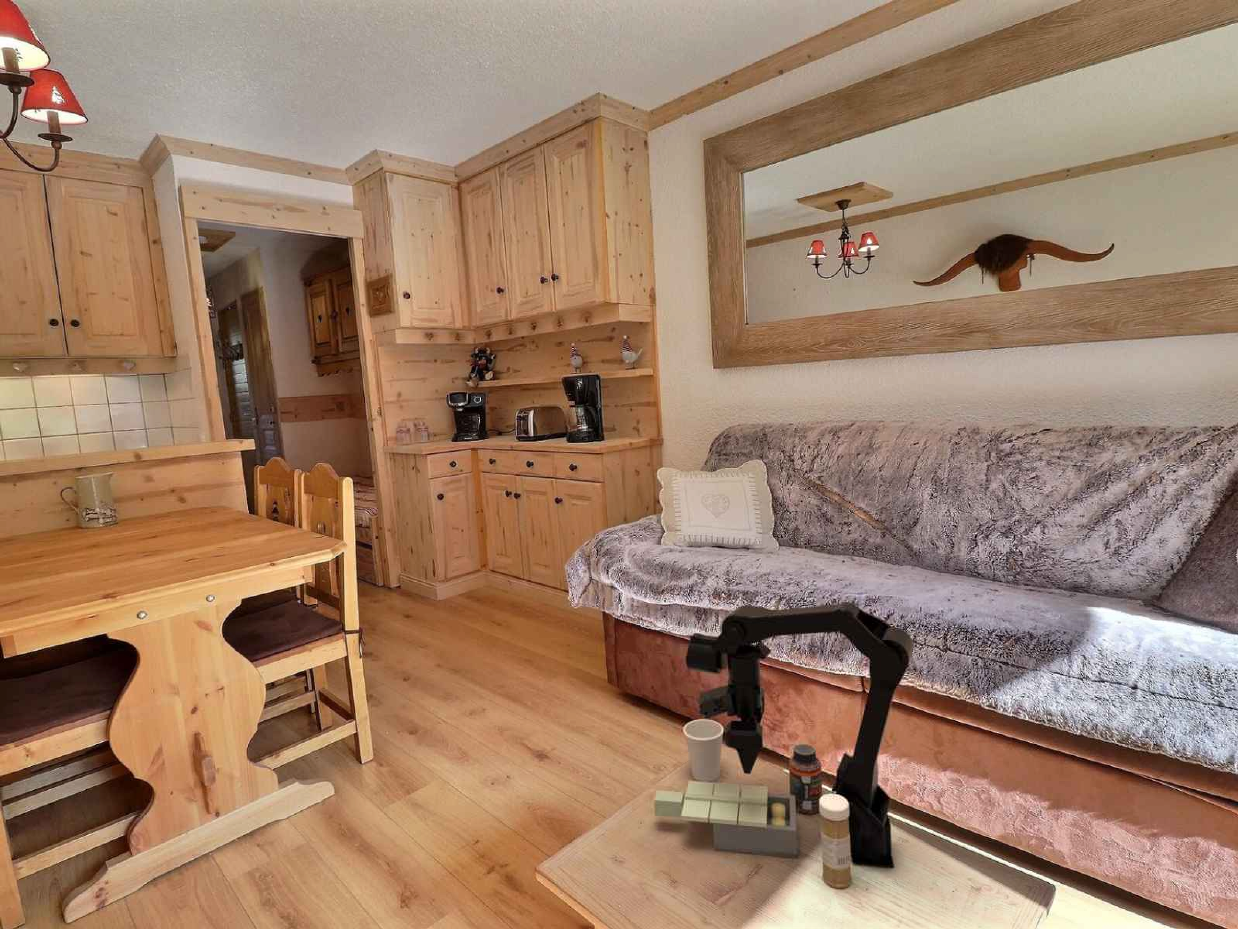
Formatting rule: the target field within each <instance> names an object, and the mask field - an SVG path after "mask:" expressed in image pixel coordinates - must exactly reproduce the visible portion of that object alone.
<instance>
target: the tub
mask: <svg viewBox="0 0 1238 929" xmlns="http://www.w3.org/2000/svg"><path fill="white" fill-rule="evenodd" d="M740 797H741V790H740ZM739 809H740V804H739ZM738 819H739V811H738ZM712 828H713V830H712V831H713V844H714V845H713V846H714V848H713V849H714V851H718V852H719V851H720V852H729V853H739V854H748V855H758V856H766V857H767V856H768V857H778V858H779V857H780V858H789V859H798V856H799V855H798V833H797V832H798V831H797V830H798V829H797V810H796V804H795V795H790V794H783V793H768V800H767V828H765V827H754V826H743V825H739V824H738V821H737V825H732V824H721V823H712Z"/></svg>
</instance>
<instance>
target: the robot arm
mask: <svg viewBox="0 0 1238 929" xmlns="http://www.w3.org/2000/svg"><path fill="white" fill-rule="evenodd" d="M836 632H839V633H840V634H842V635H843V636H844V637H846V638H847V639H848V641H849V642H850V643H851V644H852V645H853V647H854V648H856V649H857V651H859V652H860V653H861V654H862V656H865V658H867V659H868V660H869V667H868V668H869V672H868V673H869V674H868V675H869V684H870V685H869V691H868V695H867V698H866V702H865V706H864V709H863V714H862V718H861V722H860V726H859V730H858V734H857V738H856V742H855V746H854V749H853V754H852V756H851V755H849V754H847V753H845V752H844V753H843V755H842V758H841V760H840V762H839V764H838V767H837V769H836V776H835V781H834V783H833V786H832V789H831V792H832V793H834V794H837V795H840V796H842V797H844V798H845V799H846V800H847V801H848V803H849V818H848V820H849V833H850V855H851V864H854V865H860V866H868V867H878V868H879V867H880V868H890V869H893V868H894V867H895V864H894V859H893V855H892V854H893V853H892V827H891V821H890V818H889V815H888V814H889V810H890V807H891V804H892V798H891V797H890V795H888V793H887V792H886V791H885V790H884V789H883V788H882V787H881V786H880V785H879V784H878V783H879V782H878V781H879V780H878V779H879V765H878V757H879V753H880V749H881V745H882V741H883V738H884V734H885V730H886V726H887V724H888V723H887V722H888V718H889V714H890V712H891V711H890V710H891V708H892V704H893V699H894V696H895V692H896V690H897V689H898V686H900V683H901V681H902V680H903V677H904V675H905V673H906V671H907V670H908V667H909V665H910V662H911V658H912V656H913V652H914V649H915V642H914V640H913V639H912V637H911V636H910V634H909V633H908V632H907V631H906V630H904V629H901V628H899V627H893V626H892V625H890V624H889V623H887V622H886V621H885V620H883V619H882V618H880V617H878V616H875V615H873V614H871V613H869V612H867V611H864V610H862V609H861V608H860V607H858V606H857V605H856V604H853V603H852V602H841V603H839V604H828V605H817V606H806V607H796V608H794V607H793V608H786V609H785V608H784V609H770V608H767V607H763V606H758V605H747V604H746V605H740V606H738V607H737V608H736V609H734V610H732V612H731V613H729V615H727V616H725V618H724V619H723V621H722V624H721V632H720V634H719V635H718V636H713V635H707V634H703V633H697V632H694V633H693V634H692V635H690V637H689V644H688V647H687V651H686V655H685V664H686V667H687V669H688V670H690V671H696V672H703V673H707V674H714V675H720V674H722V672H723V671H724V670H726V669H727V671H728V672H727V673H728V674H727V676H728V679H727V684H726V685H723V686H718V687H715V688H711V689H709V690H705V691H703V692H701V693H700V694H699V696H698V700H697V704H698V707H699V714H700V715H701V716H703V719H707V720H710V719H711V718H712V717H717V716H718V715H722V714H724V713H726V715H727V717H735V716H736V717H737V718H739V719H740V720H730V722H728V723H727V724H726V726H725V734H724V739H725V746H727V748H731V749H732V748H733V749H735V750H736V752H737V755H738V758H739V761H740V764H741V768H742V770H743V773H744V774H745V775H746V774H748V775H750V774H751V773H752V771H753V768H754V766H755V764H756V760H757V758H758V757H759V755H760V752H761V750H762V748H763V747H764V745H763V744H764V730H763V729H764V728H763V726H762V725H761V722H762V719H763V716H764V713H765V706H766V694H765V693H766V692H765V691H766V690H765V689H764V688H762V677H761V663H760V662H761V661H760V660H766V659H767V657H768V656H769V655H770V654H771V652H772V649H771V648H769V646H767V645H765V644H764V642H763V641H764V640H767V639H769V638H772V637H780V636H781V637H782V636H793V635H794V636H795V635H796V636H797V635H808V634H821V633H823V634H824V633H836Z"/></svg>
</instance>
